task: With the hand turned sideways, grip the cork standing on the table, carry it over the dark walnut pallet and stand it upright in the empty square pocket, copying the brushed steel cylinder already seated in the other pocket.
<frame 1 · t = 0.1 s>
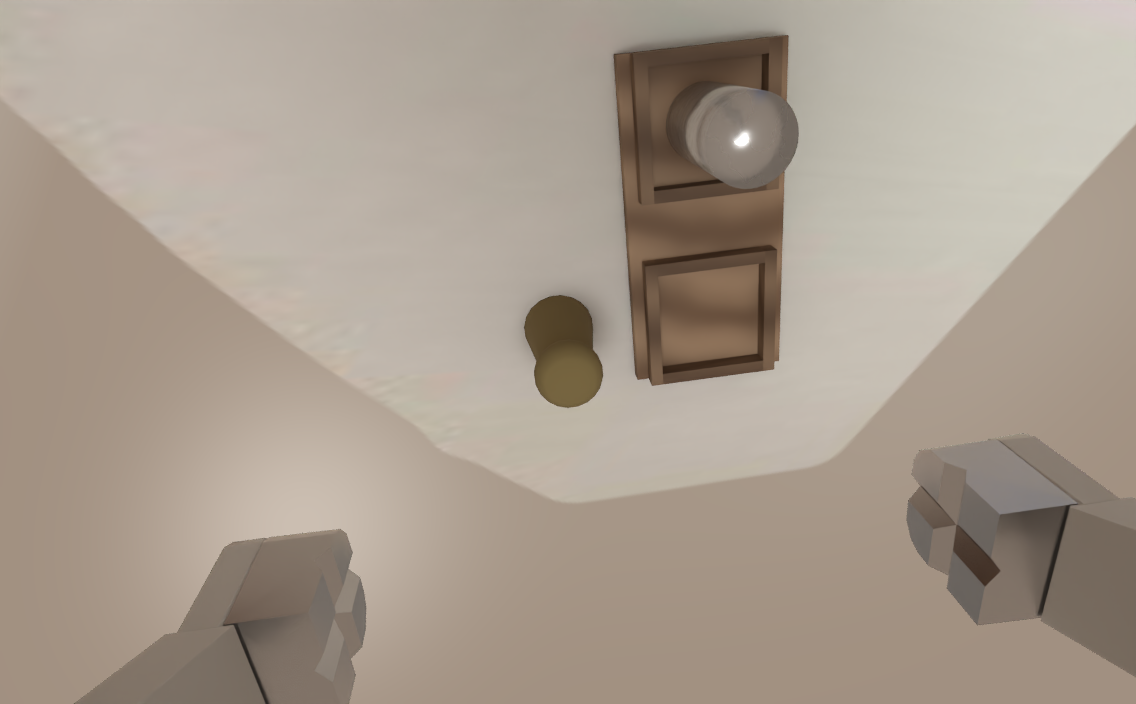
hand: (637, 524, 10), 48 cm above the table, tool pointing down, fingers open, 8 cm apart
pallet: (702, 220, 58), on the table
cork: (558, 326, 61), on the table
steel cylinder: (704, 122, 53), point 1 cm above the table, touching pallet
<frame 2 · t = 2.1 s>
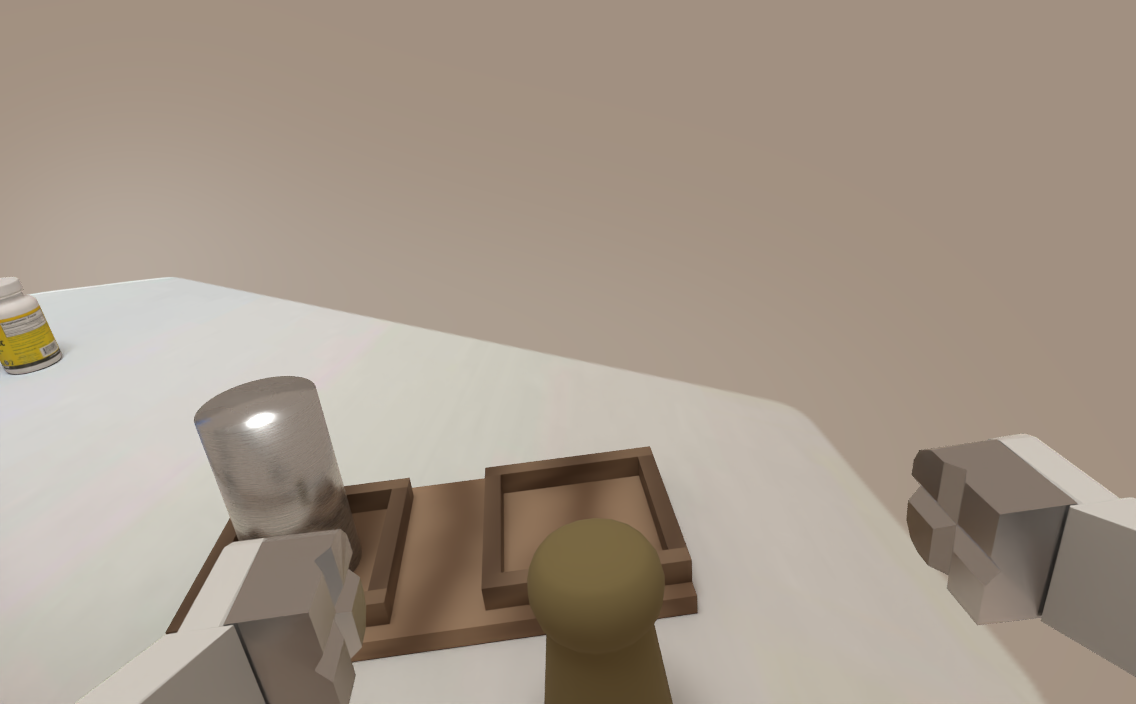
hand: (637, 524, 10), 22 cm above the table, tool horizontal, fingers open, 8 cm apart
supplement bottle: (35, 366, 77), on the table
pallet: (448, 562, 41), on the table
steel cylinder: (309, 565, 41), point 1 cm above the table, touching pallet
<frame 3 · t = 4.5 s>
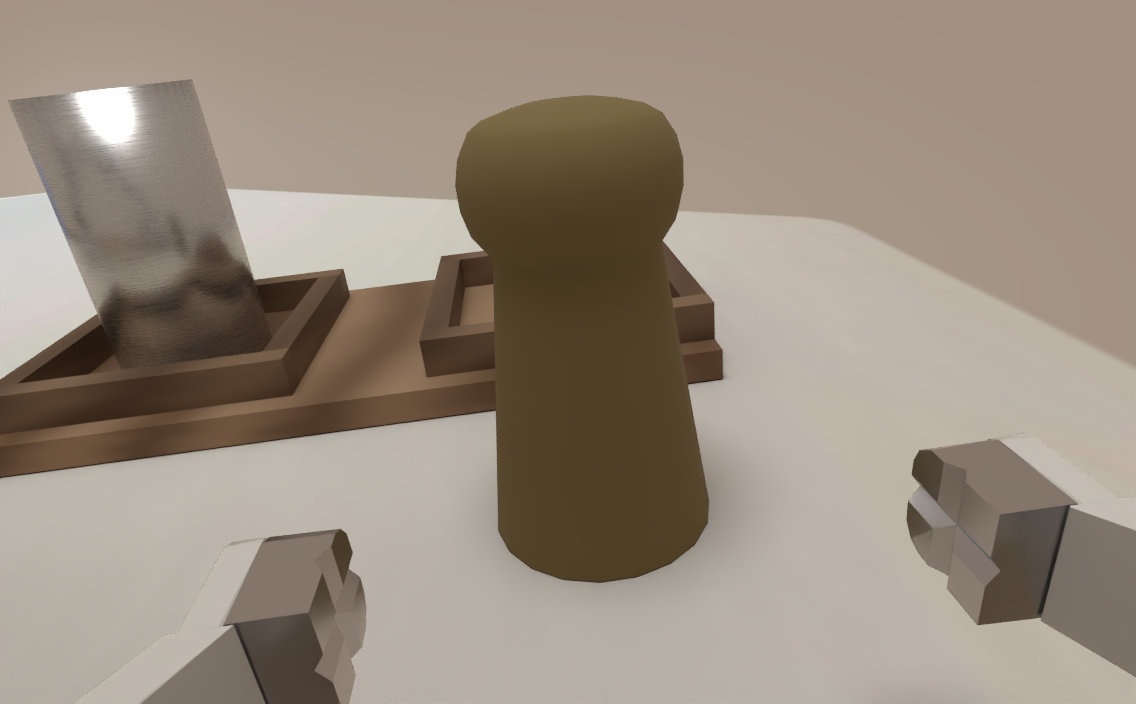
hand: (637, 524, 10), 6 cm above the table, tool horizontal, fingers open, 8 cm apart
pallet: (388, 354, 31), on the table
cork: (602, 511, 20), on the table
steel cylinder: (200, 354, 30), point 1 cm above the table, touching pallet
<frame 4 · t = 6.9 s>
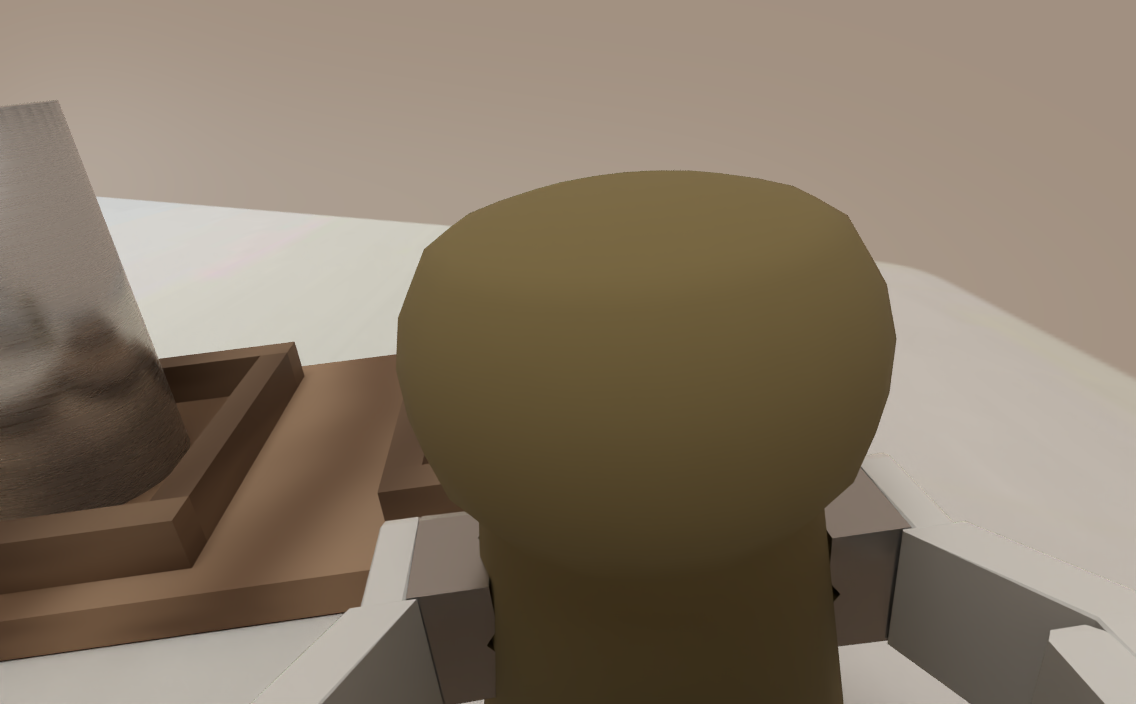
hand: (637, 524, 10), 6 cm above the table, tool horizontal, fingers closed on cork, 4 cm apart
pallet: (346, 470, 23), on the table
steel cylinder: (88, 473, 22), point 1 cm above the table, touching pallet
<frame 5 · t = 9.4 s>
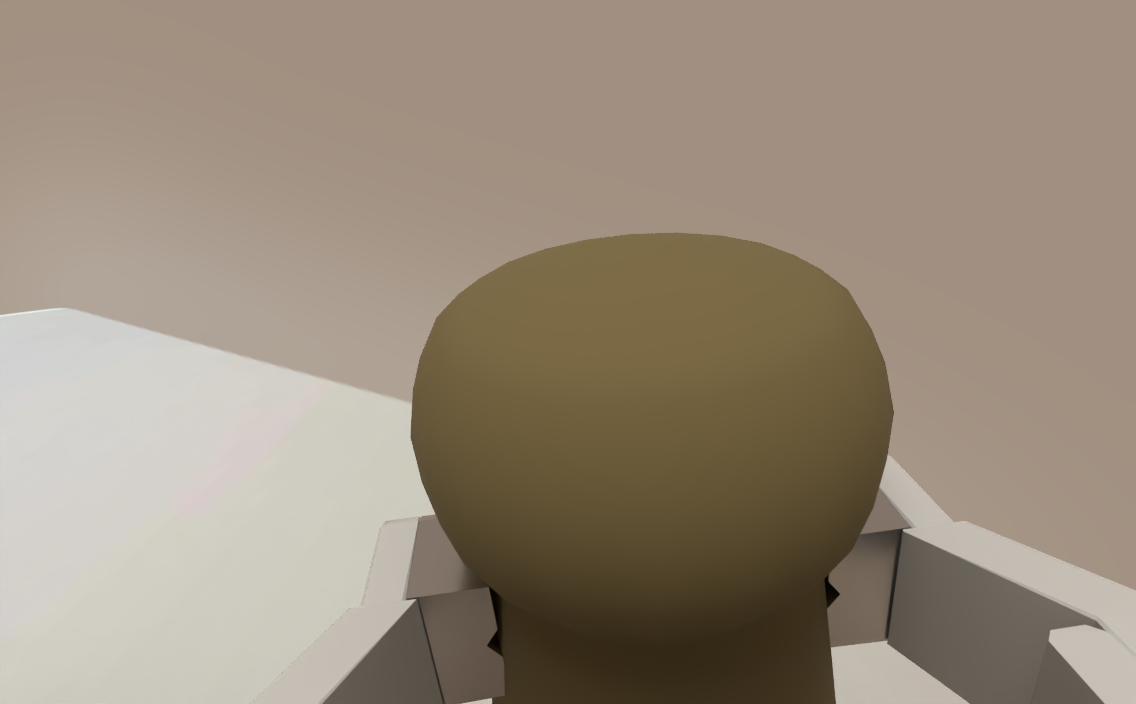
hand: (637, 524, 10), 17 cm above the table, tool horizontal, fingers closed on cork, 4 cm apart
when the fingers open (8 cm above the table, at t = 12.1 s): cork stays where it is, resting on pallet.
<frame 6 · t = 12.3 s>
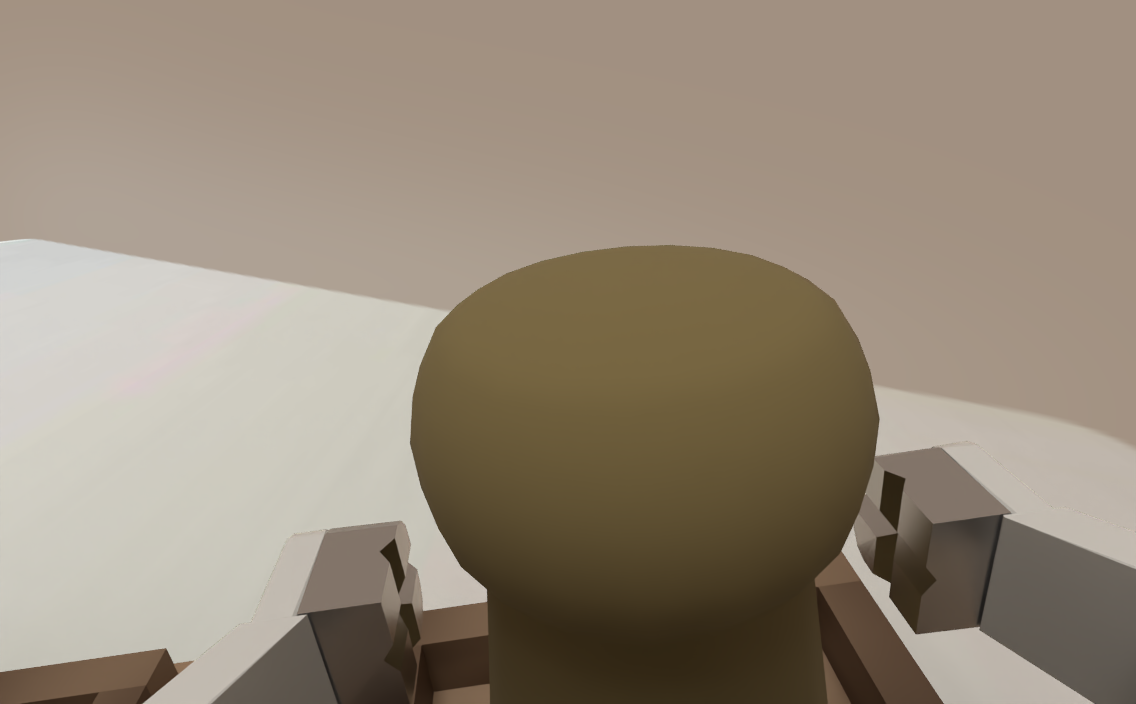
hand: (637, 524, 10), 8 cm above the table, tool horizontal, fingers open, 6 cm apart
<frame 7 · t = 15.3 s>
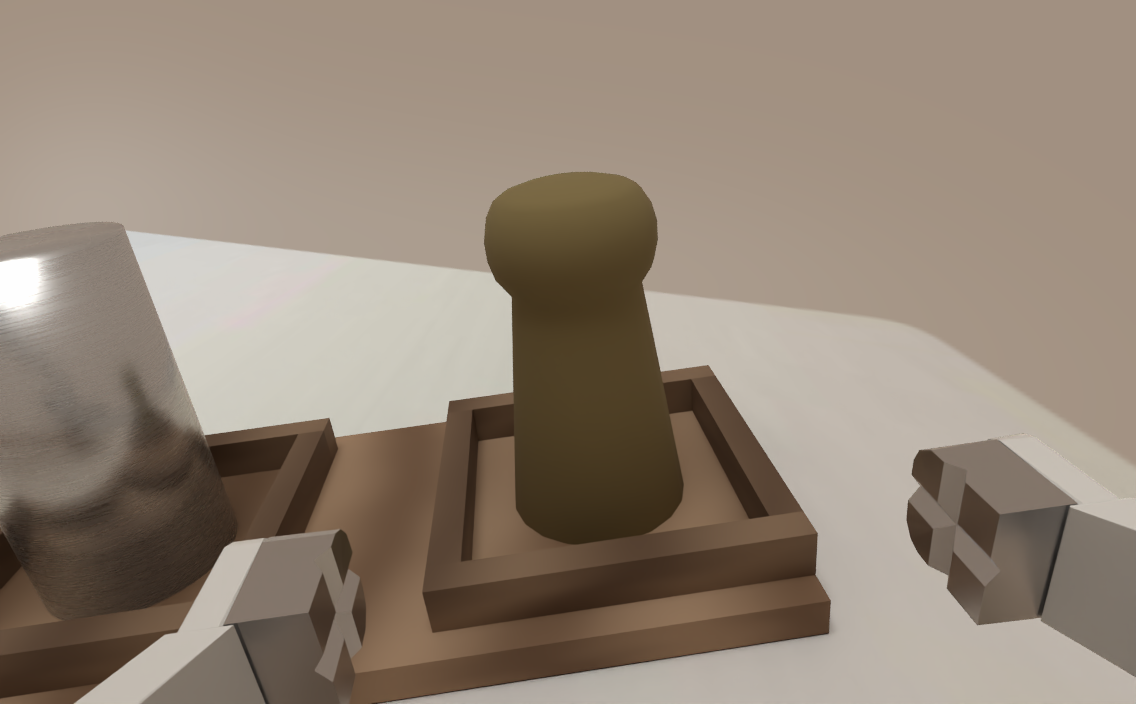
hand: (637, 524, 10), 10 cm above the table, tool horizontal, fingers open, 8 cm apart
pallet: (383, 548, 25), on the table
cork: (599, 493, 25), point 1 cm above the table, touching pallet
steel cylinder: (145, 555, 24), point 1 cm above the table, touching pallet
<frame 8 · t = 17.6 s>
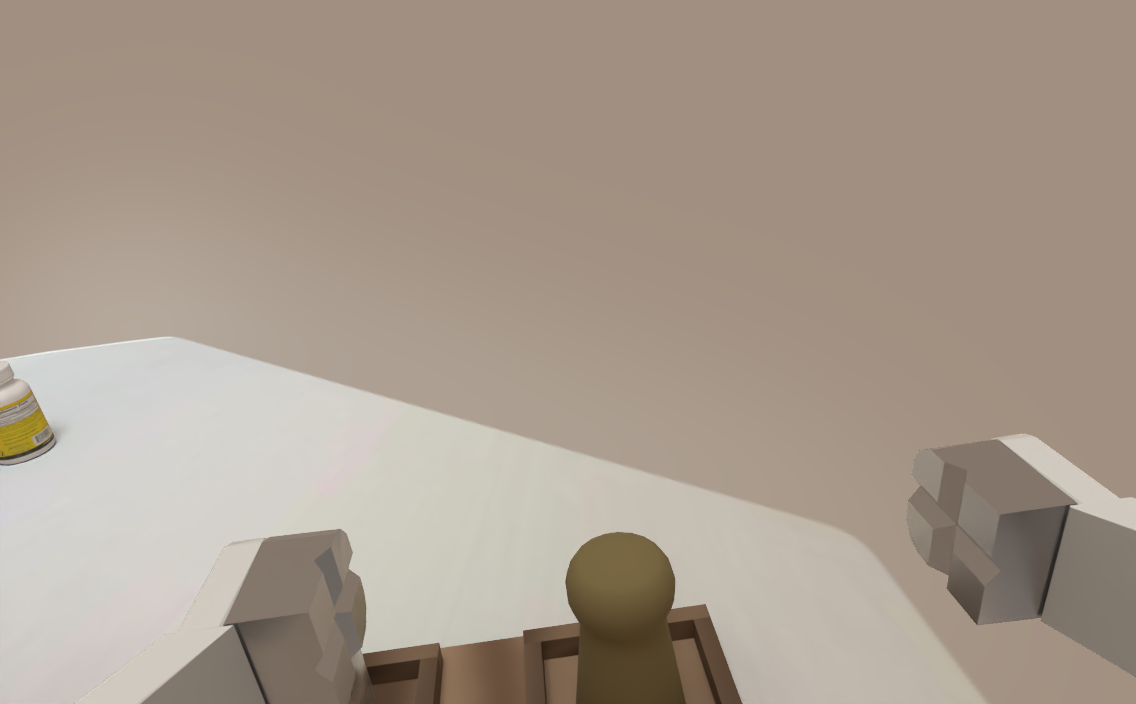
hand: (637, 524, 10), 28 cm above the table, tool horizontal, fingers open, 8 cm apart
supplement bottle: (27, 453, 73), on the table
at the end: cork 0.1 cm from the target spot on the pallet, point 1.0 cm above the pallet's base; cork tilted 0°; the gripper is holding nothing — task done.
